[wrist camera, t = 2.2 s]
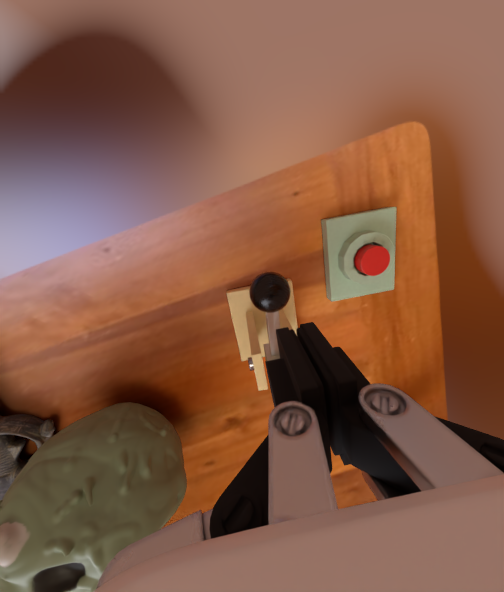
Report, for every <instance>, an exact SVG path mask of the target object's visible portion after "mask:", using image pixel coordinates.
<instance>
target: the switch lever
mask: <svg viewBox="0 0 504 592" xmlns="http://www.w3.org/2000/svg"><path fill="white" fill-rule="evenodd" d="M290 293H291V291H290V286H289V284H288V282H287V280H286V279H285V278H284V277H283V276H282V275H280V274H278V273H275V272H265V273H262V274H260V275H258V276H257V277H256V278H255V279H254V280H253V281H252V283H251V286H250V290H249V295H250V299H251V301H252V303H253V305H254V306H255V307H256V308H257V309H259V310H260V311H262V312H265V317H266V325H267V332H268V340H269V343H267V344H264V352H265V358H266V361H270V360H275V359H280V355H279V348H278V342H277V336H276V329H280V318H279V310H281V309H283V308H284V307H285V306H286V305H287V303H288V301H289V299H290Z"/></svg>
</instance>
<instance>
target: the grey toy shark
mask: <svg viewBox="0 0 504 592" xmlns="http://www.w3.org/2000/svg"><path fill="white" fill-rule="evenodd" d="M54 430H55V427H54V422H53V421H52V420H50V419H47V420H45V421H43V420H41V419H39V418H38V417H35V416H32V415H27V414H17V415H9V416H6V417H2V416H1V415H0V500H2V499H3V497H4V495H5V493H6V492H7V490H8V489H9V487H10V486H11V484H12V483H13V481H14V480H15V478H16V477H17V476H18V474H19V473H20V472H21V470H22V469H23V468H24V467H25V465H26V464H27V463H28V461H29V460H24V461H22V460H20V458H19V454H20V452H21V451H22V449H23V447H24V445H25V443H26V440H24V439H17V440H16V439H15V437H14V435H17V436H21V437H25V438H28V439H31V440H32V441H34V442H35V443H36V445H37V448H38V449H39V448H40V447H41V446H42V445H43V444H44V443H45V442H46V441H47V440H48V439H50V438H51V437H53V436H54V434H53V431H54Z"/></svg>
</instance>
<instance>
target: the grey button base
mask: <svg viewBox="0 0 504 592" xmlns="http://www.w3.org/2000/svg"><path fill="white" fill-rule="evenodd" d="M321 223H322V237H323V250H324V264H325V277H326V291H327V298H328V299H329V300H330V301H331V302H332V301H337V300H342V299H347V298H353V297H358V296H363V295H368V294H373V293H378V292H383V291H388V290H393V289H394V278H395V242H396V207H385V208H380V209H375V210H369V211H364V212H359V213H354V214H348V215H343V216H338V217H333V218H327V219H322V220H321ZM369 244H373V245H377V246H382V247H384V248H386V249H387V250H388V252H389V254H390V263H389V265H388V267H387V269H386V270H385V271H384V272H383V273H381V274H379V275H376V276H369V275H367V274H365V273H362V272H360V271H359V270H358V269H357V268H356V267H355V263H354V259H355V255H356V253H357V252H358V250H359V249H360V248H362V247H363V246H365V245H369Z"/></svg>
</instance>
